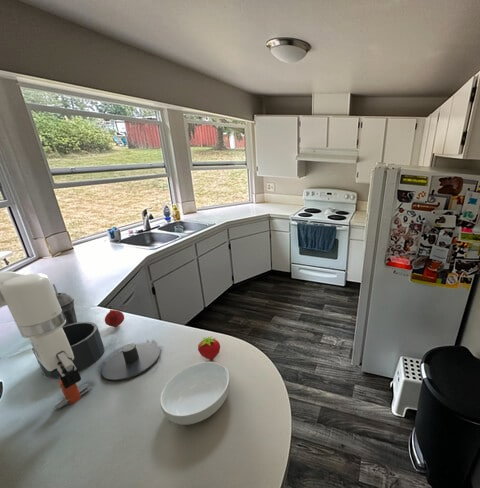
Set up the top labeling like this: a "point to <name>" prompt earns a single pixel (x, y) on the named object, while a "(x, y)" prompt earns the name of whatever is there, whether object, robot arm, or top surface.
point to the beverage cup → (66, 307)
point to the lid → (130, 361)
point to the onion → (114, 318)
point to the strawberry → (209, 348)
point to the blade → (71, 394)
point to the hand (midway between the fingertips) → (65, 375)
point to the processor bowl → (80, 346)
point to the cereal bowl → (195, 393)
